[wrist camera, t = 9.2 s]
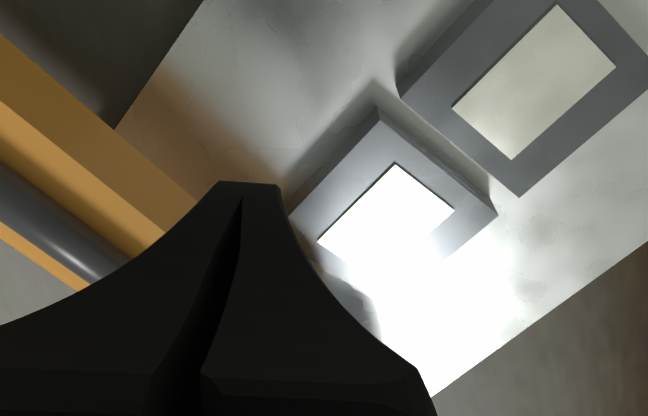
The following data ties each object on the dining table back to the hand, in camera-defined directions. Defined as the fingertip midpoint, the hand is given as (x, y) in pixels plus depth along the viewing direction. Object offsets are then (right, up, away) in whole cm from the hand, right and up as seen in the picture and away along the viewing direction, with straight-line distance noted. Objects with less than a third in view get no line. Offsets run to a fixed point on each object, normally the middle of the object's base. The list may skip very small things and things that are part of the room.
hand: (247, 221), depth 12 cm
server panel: (+5, +2, +9) cm, 10 cm away
